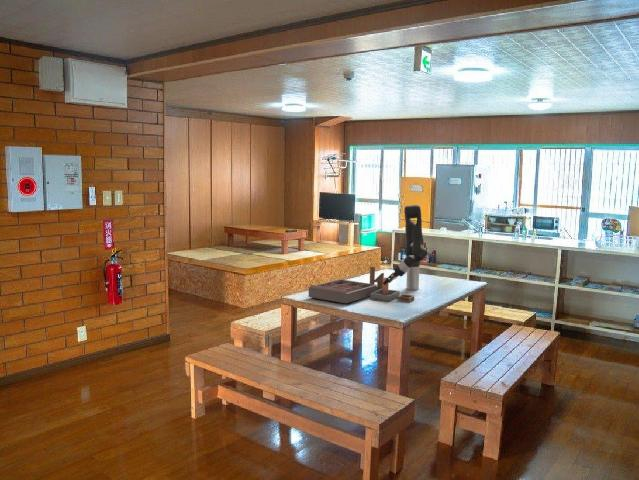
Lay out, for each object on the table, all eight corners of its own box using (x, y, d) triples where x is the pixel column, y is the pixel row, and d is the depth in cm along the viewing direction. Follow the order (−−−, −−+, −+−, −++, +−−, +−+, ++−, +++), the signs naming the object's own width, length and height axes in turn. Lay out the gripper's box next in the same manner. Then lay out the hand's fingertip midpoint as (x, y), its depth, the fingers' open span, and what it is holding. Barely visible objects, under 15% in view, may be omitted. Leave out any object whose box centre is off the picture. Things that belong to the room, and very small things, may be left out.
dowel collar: (401, 298, 366) (402, 294, 366) (414, 300, 362) (414, 295, 362) (397, 300, 359) (397, 296, 358) (410, 302, 355) (410, 298, 354)
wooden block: (381, 292, 385) (381, 268, 383) (368, 290, 391) (368, 266, 389) (383, 291, 388) (384, 267, 386) (370, 289, 394) (371, 265, 392)
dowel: (383, 295, 370) (384, 277, 369) (389, 296, 368) (389, 277, 367) (381, 296, 366) (382, 278, 365) (386, 297, 365) (387, 278, 363)
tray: (380, 294, 379) (381, 288, 379) (399, 296, 373) (399, 290, 373) (370, 299, 362) (370, 293, 361) (389, 301, 355) (389, 296, 355)
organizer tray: (377, 295, 375) (378, 282, 374) (346, 306, 343) (346, 290, 341) (340, 289, 393) (340, 276, 392) (306, 298, 361) (307, 284, 360)
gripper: (402, 262, 367) (386, 277, 373) (395, 265, 354) (378, 280, 361) (409, 270, 365) (393, 285, 371) (402, 273, 352) (385, 289, 359)
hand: (386, 283), depth 366 cm, fingers open, 8 cm apart
